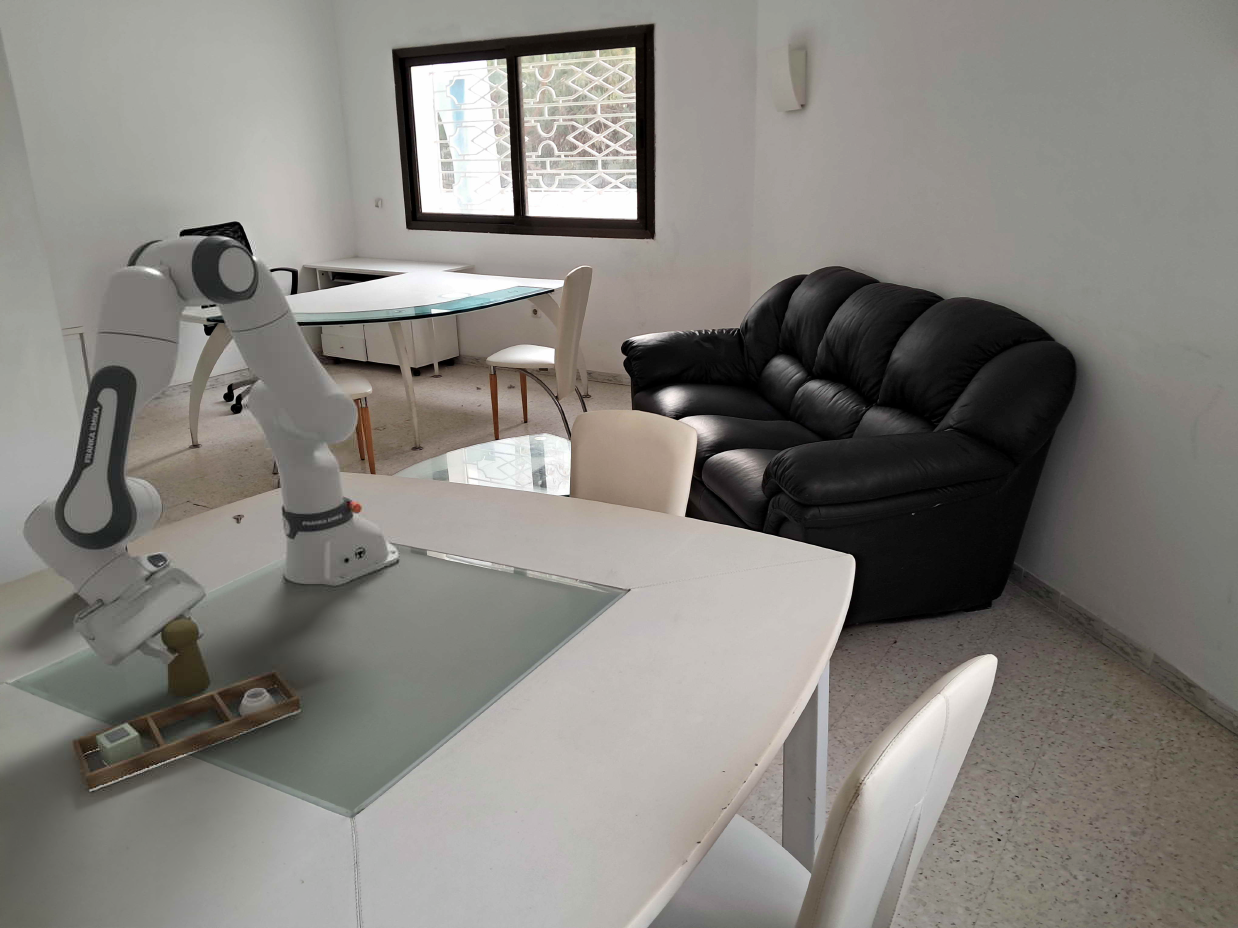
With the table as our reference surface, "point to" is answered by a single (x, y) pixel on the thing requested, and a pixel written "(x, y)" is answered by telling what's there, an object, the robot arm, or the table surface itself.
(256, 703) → the lidless jar
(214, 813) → the table surface
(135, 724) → the organiser
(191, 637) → the cork
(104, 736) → the cube with grey panel
